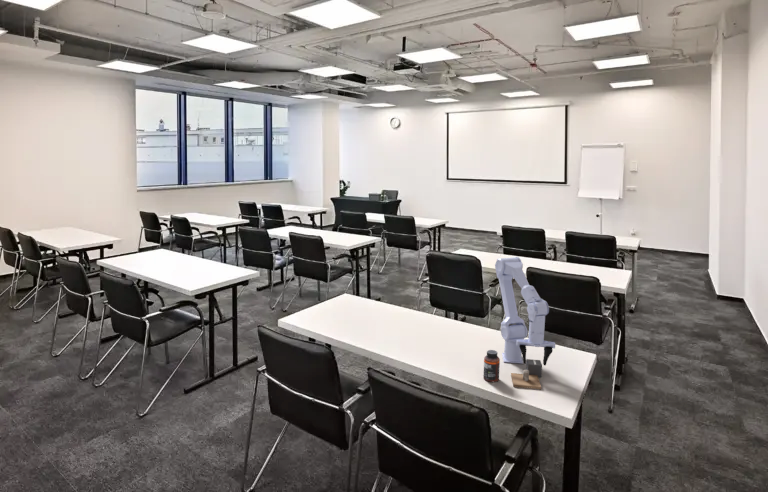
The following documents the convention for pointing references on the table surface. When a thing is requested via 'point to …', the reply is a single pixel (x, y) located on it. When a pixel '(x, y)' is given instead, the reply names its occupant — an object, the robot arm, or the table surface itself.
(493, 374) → the supplement bottle
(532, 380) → the block
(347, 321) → the table surface
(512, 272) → the robot arm
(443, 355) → the table surface
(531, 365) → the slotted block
